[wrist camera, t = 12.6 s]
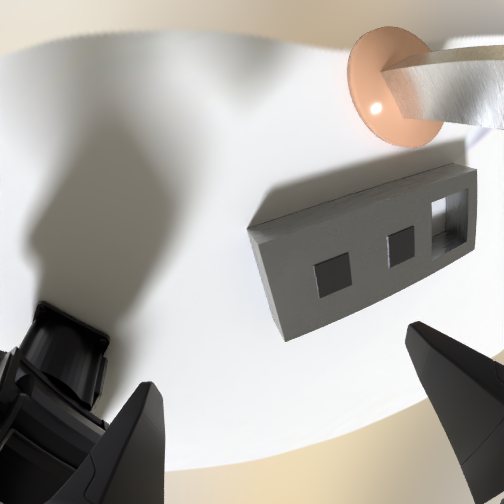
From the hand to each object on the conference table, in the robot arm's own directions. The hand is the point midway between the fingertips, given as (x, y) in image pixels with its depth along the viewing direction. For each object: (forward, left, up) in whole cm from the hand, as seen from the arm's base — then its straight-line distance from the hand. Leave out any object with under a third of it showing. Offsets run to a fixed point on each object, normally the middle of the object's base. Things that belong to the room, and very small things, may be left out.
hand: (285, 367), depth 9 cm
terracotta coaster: (+4, +18, -12) cm, 22 cm away
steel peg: (+4, +18, -11) cm, 21 cm away
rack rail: (+10, +7, -12) cm, 18 cm away
